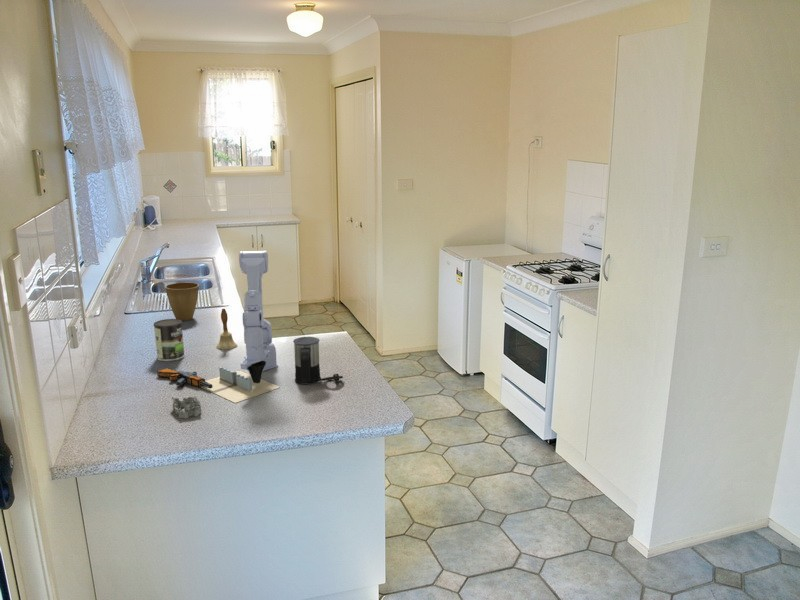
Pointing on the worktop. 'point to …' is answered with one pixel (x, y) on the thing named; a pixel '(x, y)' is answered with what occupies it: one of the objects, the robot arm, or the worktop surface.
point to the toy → (183, 377)
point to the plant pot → (182, 299)
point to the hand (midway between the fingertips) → (256, 382)
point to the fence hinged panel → (242, 381)
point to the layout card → (238, 388)
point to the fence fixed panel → (226, 375)
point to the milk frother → (308, 361)
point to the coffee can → (169, 339)
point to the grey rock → (187, 407)
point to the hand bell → (225, 335)
